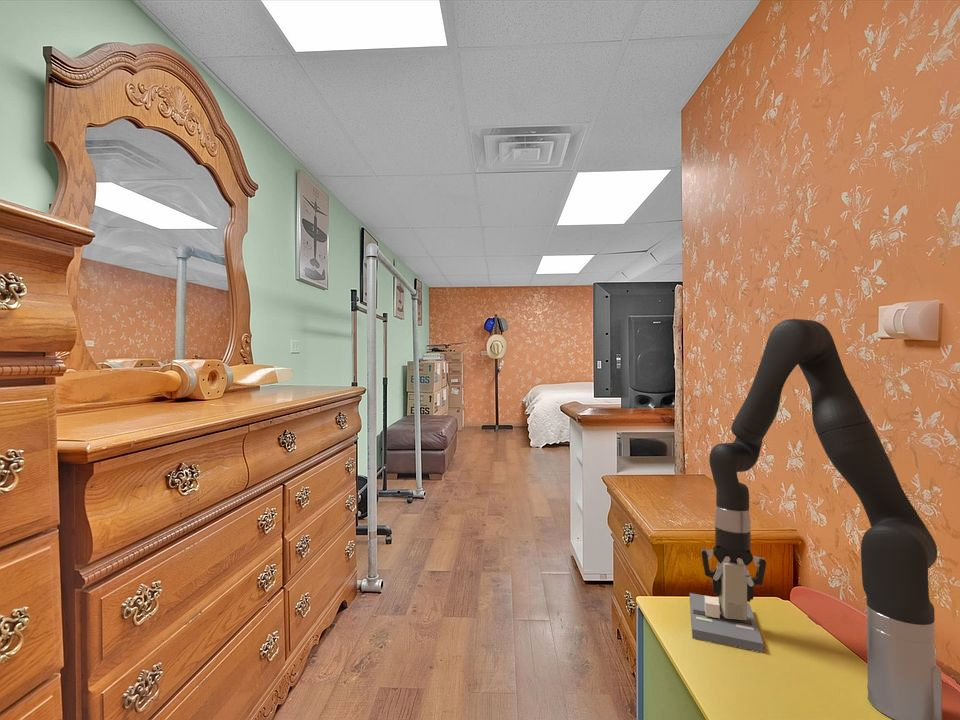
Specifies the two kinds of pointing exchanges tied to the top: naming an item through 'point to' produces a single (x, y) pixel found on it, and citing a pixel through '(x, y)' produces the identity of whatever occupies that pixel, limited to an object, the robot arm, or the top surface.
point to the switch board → (724, 627)
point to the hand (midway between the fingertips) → (732, 597)
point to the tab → (712, 607)
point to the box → (733, 591)
